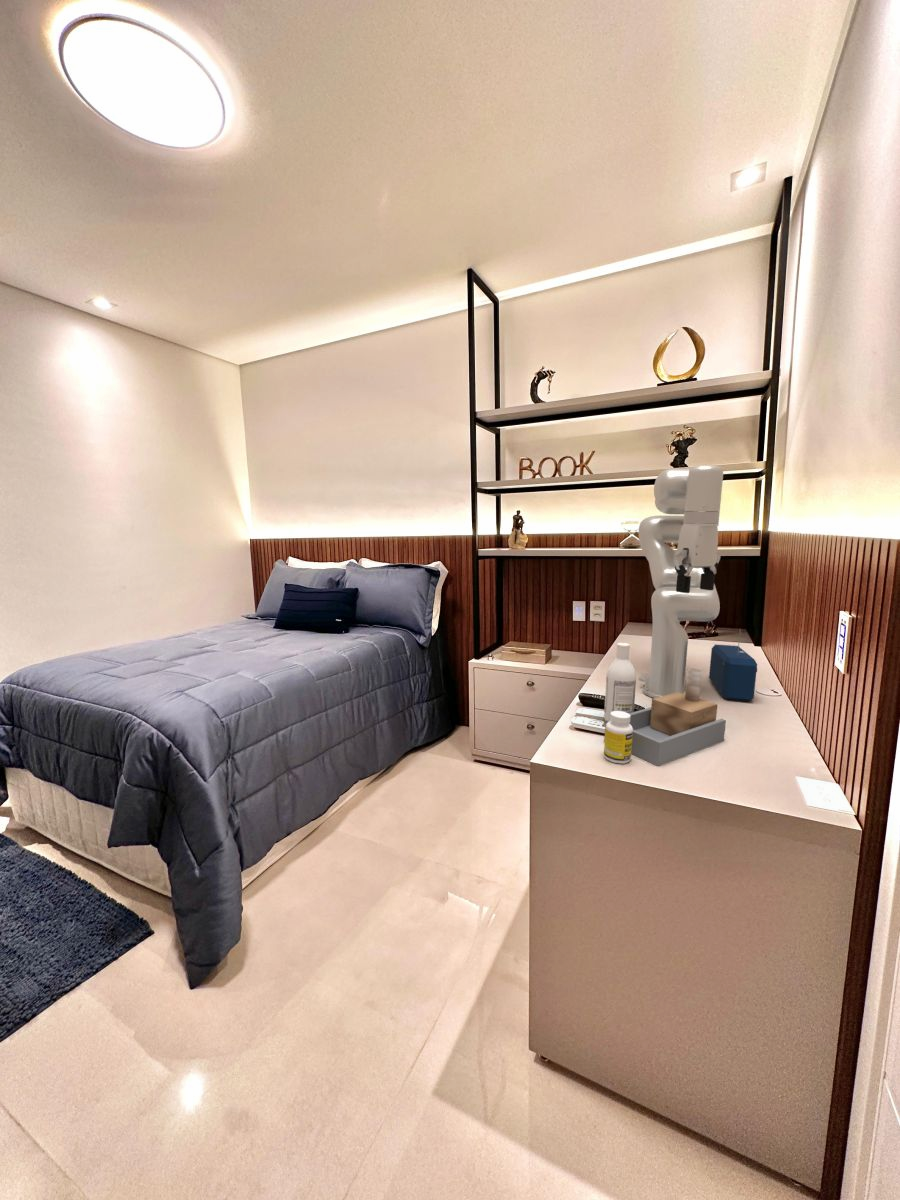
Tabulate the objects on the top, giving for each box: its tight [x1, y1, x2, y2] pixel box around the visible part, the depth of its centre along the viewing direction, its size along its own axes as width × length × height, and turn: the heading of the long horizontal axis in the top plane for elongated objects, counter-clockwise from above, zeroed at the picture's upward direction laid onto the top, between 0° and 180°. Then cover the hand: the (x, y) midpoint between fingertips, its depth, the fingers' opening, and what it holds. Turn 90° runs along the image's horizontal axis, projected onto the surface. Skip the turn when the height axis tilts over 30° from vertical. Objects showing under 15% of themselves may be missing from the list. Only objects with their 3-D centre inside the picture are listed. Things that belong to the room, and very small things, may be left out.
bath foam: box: [603, 642, 637, 720], centre depth 124 cm, size 7×7×20 cm
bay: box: [603, 706, 727, 767], centre depth 115 cm, size 14×24×5 cm, turn 122°
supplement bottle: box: [603, 711, 633, 764], centre depth 105 cm, size 5×5×10 cm
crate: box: [650, 668, 718, 736], centre depth 117 cm, size 10×10×14 cm
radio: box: [708, 628, 758, 702], centre depth 149 cm, size 21×9×20 cm, turn 164°
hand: (694, 591), depth 122 cm, fingers open, 9 cm apart
